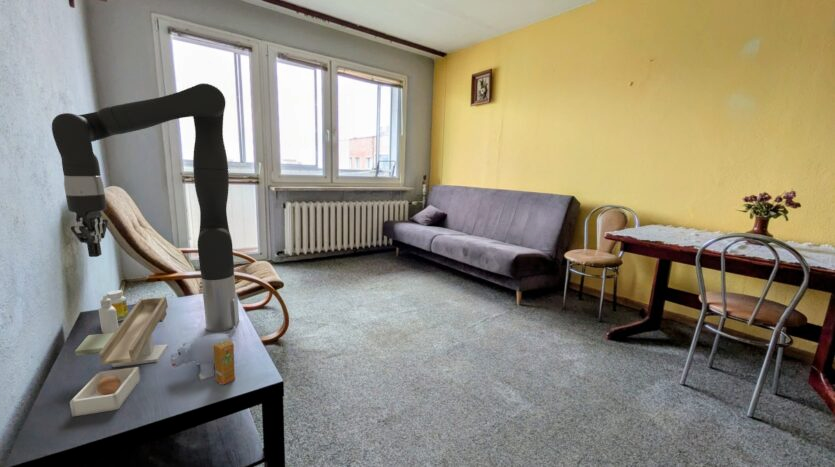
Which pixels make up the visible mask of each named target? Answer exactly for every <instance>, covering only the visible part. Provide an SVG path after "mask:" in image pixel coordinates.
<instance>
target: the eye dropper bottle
mask: <svg viewBox="0 0 835 467" xmlns="http://www.w3.org/2000/svg"><path fill="white" fill-rule="evenodd" d="M102 297H103V298H102V299H100V300H99V302H100V307H99V308H98V317H99V323H100V328H101V329H100V330H101V332H102V333H101V334H105V333H115V331H116V330H117V329H118V327H119V321H118V320H117V314H116V309H115V308H114V307H113V306H112V304H111V299H109V298H107V294H105V295H103V296H102Z"/></svg>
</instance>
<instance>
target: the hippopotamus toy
mask: <svg viewBox="0 0 835 467" xmlns="http://www.w3.org/2000/svg"><path fill="white" fill-rule="evenodd" d="M236 328H237V327H235V326H234V328H231V330H230V332H229V333H210V334H206V335H204V336H201V337H199V338H197V339H196V340H195V341H192V342H191V343H190V345H187V343H185V342H184V343H183V344H182V346H181V347H179V348H178V349H177V352H176V353H172V354H171V357H170V363H171V367H172V368H178V367H180V366H182V365H184V364H188V363H191V362H194V363H195V364H196V365H197V366H199V367H200V372H199V374H198V375H199V376H198V377H199V379H200V380H204V379H209V378H211V377H213V376H214V375H215V359H214V345H215V344H218V343H220V342H223V341H225V340H228V341H229V342H231V343H233V348H234V349H235V343H234V341H233V339H232V337H233V336H234V334H235V332H236V331H235V330H236Z"/></svg>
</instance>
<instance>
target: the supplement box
mask: <svg viewBox="0 0 835 467" xmlns="http://www.w3.org/2000/svg"><path fill="white" fill-rule="evenodd" d="M233 343H234V342H233ZM233 343H231V342H229V341H228V340H225V341H223V342H220V343H218V344H215V345H214V359H215V363H214V370H215V374H214V375H215V381H216V382H217V383H218V382H219V383H218V384H220V383H221V384H220V385H222V386H225V385H227V384H228V383H230V382H232V381H234V380H235V379H236V375H235V372H236V371H235V351H234V350H235V347H234V348H233ZM233 379H234V380H233ZM226 383H227V384H226ZM224 384H225V385H224Z"/></svg>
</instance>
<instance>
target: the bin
mask: <svg viewBox="0 0 835 467" xmlns="http://www.w3.org/2000/svg"><path fill="white" fill-rule="evenodd" d="M108 376H116V377H118V378H119V379H120V387H119V388H118V390H117V391H115V392H114V393H112V394H109V395H103V394H100V393H99V392H98V390H97V386H98V383H99V382H100V381H101V380H102V379H103V378H105V377H108ZM140 381H141V374H140V366H135V367H127V368H121V369H112V370H111V369H110V370H104V371H98V372H97V373H96V374H95V375H94V376H93V377H92V378H91V379H90V380H89V381H88V382H87V383H86V385H84V387H82V389H81V390H80V391H79V392H77V394H76V395H75V396H74V397H73V398H72V399H71V400H70V401H69V406H70V410H71V416H72V418H73V417H78V416H79V417H80V416H85V415H91V414H98V413H103V412H111V411H115V410H116V411H117V410H120V408H121V407H122V406H123V404H124V403H125V401H126V400H127V399H128V397H129V396H130V394H132V392H133V391H134V389H135V388H136V386H137V385H138V384H139V382H140Z"/></svg>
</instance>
